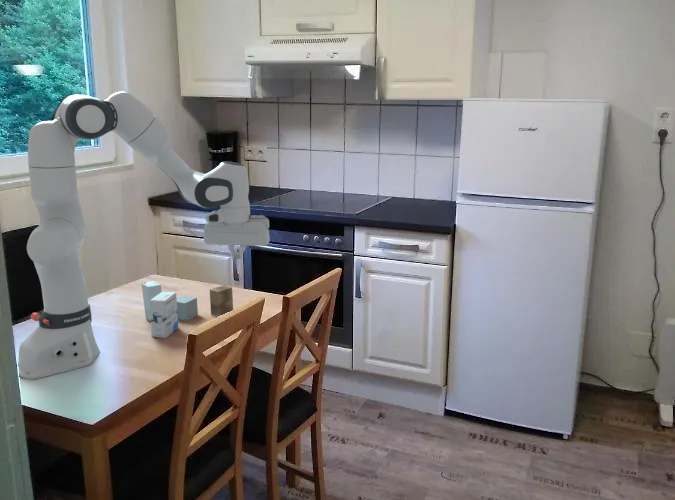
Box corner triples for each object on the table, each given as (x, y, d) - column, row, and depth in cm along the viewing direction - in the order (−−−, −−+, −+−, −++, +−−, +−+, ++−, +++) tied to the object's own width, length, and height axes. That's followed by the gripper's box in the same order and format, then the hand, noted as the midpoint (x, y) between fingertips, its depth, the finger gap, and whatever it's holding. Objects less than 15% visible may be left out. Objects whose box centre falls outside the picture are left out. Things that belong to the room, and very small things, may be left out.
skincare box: (165, 320, 201) (162, 284, 198) (152, 323, 199) (149, 287, 196) (157, 315, 206) (154, 279, 203) (144, 318, 203) (141, 282, 200)
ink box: (164, 326, 196) (161, 290, 193) (179, 327, 195) (177, 291, 192) (151, 337, 188) (148, 299, 185) (167, 338, 187) (164, 301, 184)
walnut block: (218, 318, 203) (217, 292, 201) (211, 315, 206) (209, 289, 203) (233, 313, 207) (232, 287, 205) (225, 310, 210) (224, 285, 208)
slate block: (186, 321, 201) (184, 303, 200) (171, 318, 204) (169, 300, 202) (197, 315, 206) (196, 297, 205) (183, 312, 209) (182, 295, 207)
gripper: (271, 213, 194) (272, 256, 197) (207, 212, 196) (209, 255, 200) (266, 217, 188) (268, 262, 191) (200, 216, 190) (203, 260, 194)
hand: (237, 258), depth 196 cm, fingers closed
